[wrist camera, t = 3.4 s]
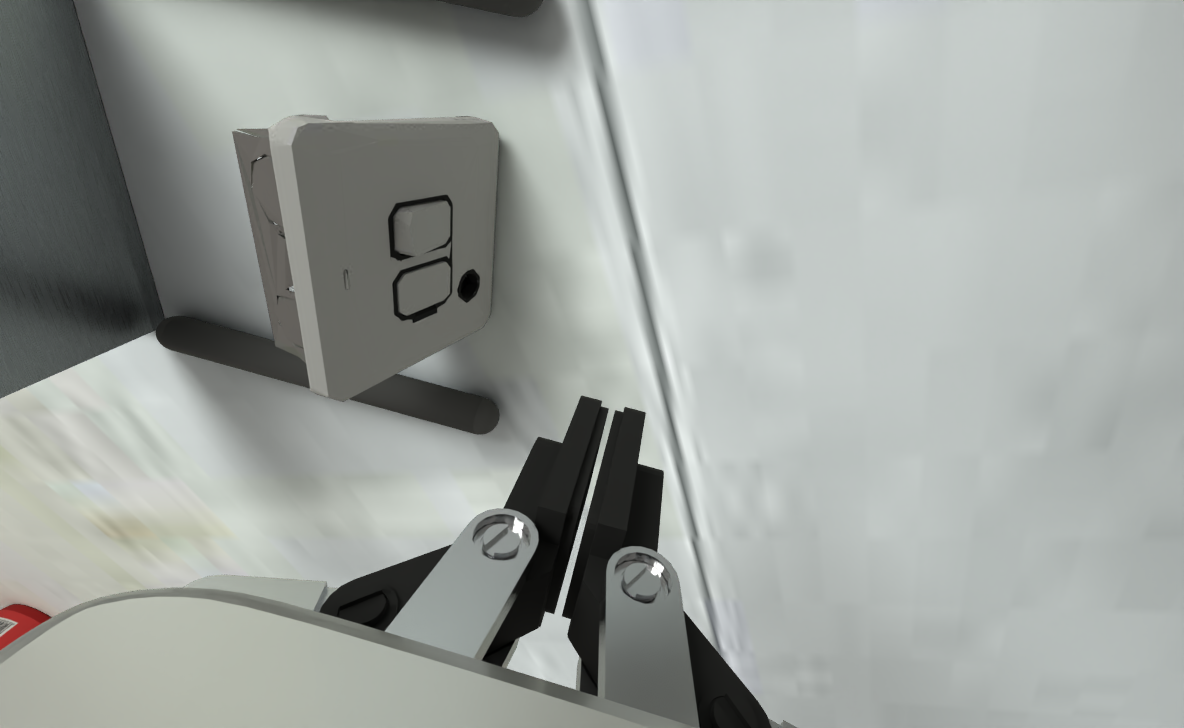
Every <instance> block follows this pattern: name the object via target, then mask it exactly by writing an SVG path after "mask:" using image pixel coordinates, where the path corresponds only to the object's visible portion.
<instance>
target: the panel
mask: <svg viewBox="0 0 1184 728" xmlns="http://www.w3.org/2000/svg"><path fill="white" fill-rule="evenodd" d="M163 320H164V316H163V313H162V309H161V306H160V302H159V299H158V295H157V292H156V289H155V285H154V282H153V278H152V275H151V271H150V268H149V264H148V261H147V257H146V254H145V250H144V247H143V244H142V240H141V237H140V233H139V230H138V226H137V223H136V219H135V216H134V212H133V209H132V205H131V202H130V199H129V195H128V192H127V188H126V185H125V181H124V178H123V174H122V171H121V167H120V164H119V160H118V157H117V153H116V150H115V147H114V143H113V140H112V136H111V133H110V129H109V126H108V122H107V119H106V115H105V112H104V108H103V105H102V102H101V98H100V95H99V91H98V88H97V84H96V81H95V77H94V74H93V70H92V67H91V63H90V60H89V57H88V53H87V50H86V46H85V43H84V39H83V36H82V32H81V29H80V25H79V22H78V18H77V15H76V12H75V8H74V5H73V1H72V0H0V398H2V397H5V396H7V395H9V394H11V393H14V392H16V391H18V390H21V389H23V388H25V387H27V386H30V385H32V384H34V383H37V382H39V381H41V380H43V379H46V378H48V377H50V376H52V375H55V374H57V373H59V372H62V371H64V370H66V369H68V368H71V367H73V366H75V365H77V364H80V363H82V362H84V361H87V360H89V359H91V358H93V357H96V356H98V355H100V354H102V353H105V352H107V351H109V350H112V349H114V348H116V347H118V346H121V345H123V344H125V343H128V342H130V341H132V340H134V339H137V338H139V337H141V336H143V335H146V334H148V333H150V332H153V331H155V330H156V329H157V326H158V325H159V324H160V322H162V321H163Z"/></svg>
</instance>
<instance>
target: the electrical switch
mask: <svg viewBox="0 0 1184 728" xmlns="http://www.w3.org/2000/svg"><path fill="white" fill-rule="evenodd" d="M237 130H240V131H243V132H245V133H248V134H251V135H248V134H244V133H241V132H237V131H232V133H233V138H234V143H235V148H236V153H237V158H238V163H239V168H240V173H241V178H242V183H243V188H244V193H245V197H246V202H247V207H248V212H249V217H250V222H251V227H252V232H253V237H254V242H255V247H256V252H257V257H258V262H259V267H260V272H261V277H262V282H263V287H264V292H265V297H266V301H267V306H268V311H269V316H270V321H271V326H272V331H273V336H274V341H275V346H276V347H278V348H280V349H282V350H285V351H287V352H289V353H291V354H293V355H296V356H298V357H299V358H301V359H302V360H303V361H304V362H305V363H306V365H307V371H308V377H309V383H310V390H311V391H312V392H314V393H316V394H318V395H321V396H324V397H328V398H332V399H335V400H339V401H342V402H344V401H346V400H348V399H350V398H352V397H353V396H355V395H357V394H359V393H361V392H363V391H365V390H367V389H369V388H370V387H372V386H374V385H376V384H378V383H380V382H382V381H384V380H385V379H387V378H389V377H391V376H393V375H395V374H397V373H399V372H400V371H402V370H404V369H406V368H408V367H410V366H412V365H414V364H416V363H417V362H419V361H421V360H423V359H425V358H427V357H429V356H431V355H432V354H434V353H436V352H438V351H440V350H442V349H444V348H446V347H448V346H449V345H451V344H453V343H455V342H457V341H459V340H461V339H463V338H464V337H466V336H468V335H470V334H472V333H474V332H476V331H478V330H480V329H481V328H483V327H484V325H485V323H486V322H487V320H488V318H489V316H490V313H491V297H492V276H493V256H494V235H495V215H496V194H497V174H498V153H499V133H498V131H497V129H496V128H495V126H494V125H493V123H492V122H489V121H486V120H482V119H479V118H476V117H470V116H460V117H441V118H415V119H388V120H361V121H332V120H329V119H328V118H327V116H321V115H296V116H289V117H286V118H284V119H282V120H281V121H279V122H278V123H276V124H275V125H273V126H271V127H270V128H268V129H237ZM252 135H254V136H252ZM255 136H257V137H255ZM259 157H262V158H260V159H258V160H257V158H259ZM273 222H275V223H276V224H278V225H275V224H274V223H273ZM291 286H294V292H292V291H289V287H291ZM279 322H280V324H281V325H280V324H279Z"/></svg>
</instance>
